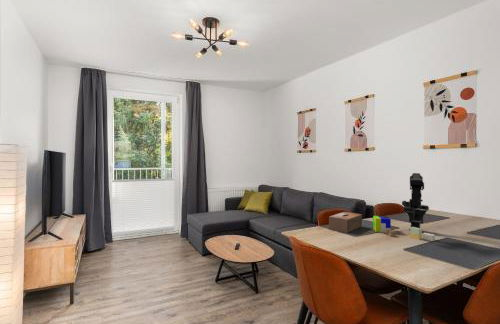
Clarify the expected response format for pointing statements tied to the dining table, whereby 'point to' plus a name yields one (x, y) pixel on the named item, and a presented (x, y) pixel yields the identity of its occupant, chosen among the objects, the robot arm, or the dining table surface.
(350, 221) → the tissue box cover
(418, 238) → the mustard brick
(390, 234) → the walnut brick
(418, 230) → the sage brick
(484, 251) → the dining table surface
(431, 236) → the grey brick
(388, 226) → the puzzle toy
